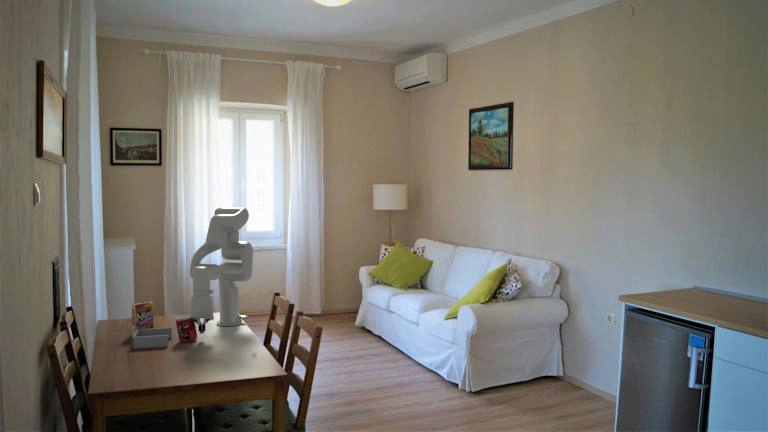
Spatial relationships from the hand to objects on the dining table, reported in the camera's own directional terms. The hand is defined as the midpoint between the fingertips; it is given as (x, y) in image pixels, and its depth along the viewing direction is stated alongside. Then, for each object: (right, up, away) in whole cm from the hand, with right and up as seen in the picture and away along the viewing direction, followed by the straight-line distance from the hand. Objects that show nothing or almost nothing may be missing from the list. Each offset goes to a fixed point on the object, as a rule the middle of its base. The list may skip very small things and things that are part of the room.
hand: (202, 332), depth 270 cm
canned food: (-6, -3, -1) cm, 7 cm away
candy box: (-32, -3, +11) cm, 34 cm away
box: (-21, -4, -5) cm, 22 cm away
